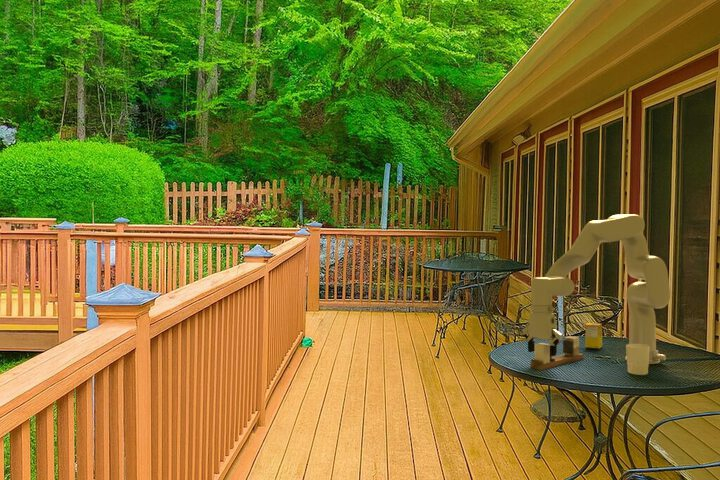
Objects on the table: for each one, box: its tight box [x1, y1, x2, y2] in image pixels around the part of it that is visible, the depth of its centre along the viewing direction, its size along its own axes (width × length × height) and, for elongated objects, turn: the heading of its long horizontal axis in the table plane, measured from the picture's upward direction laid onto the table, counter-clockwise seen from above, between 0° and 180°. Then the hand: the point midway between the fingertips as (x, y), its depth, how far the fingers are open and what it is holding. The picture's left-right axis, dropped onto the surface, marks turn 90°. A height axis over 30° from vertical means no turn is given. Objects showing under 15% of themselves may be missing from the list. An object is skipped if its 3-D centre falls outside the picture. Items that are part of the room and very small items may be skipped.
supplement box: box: [584, 322, 603, 351], centre depth 261 cm, size 6×6×11 cm
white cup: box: [625, 343, 650, 376], centre depth 217 cm, size 8×8×10 cm
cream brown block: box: [534, 342, 553, 364], centre depth 227 cm, size 4×5×7 cm
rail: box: [530, 335, 585, 371], centre depth 234 cm, size 5×29×9 cm, turn 128°
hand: (542, 353), depth 227 cm, fingers open, 9 cm apart
